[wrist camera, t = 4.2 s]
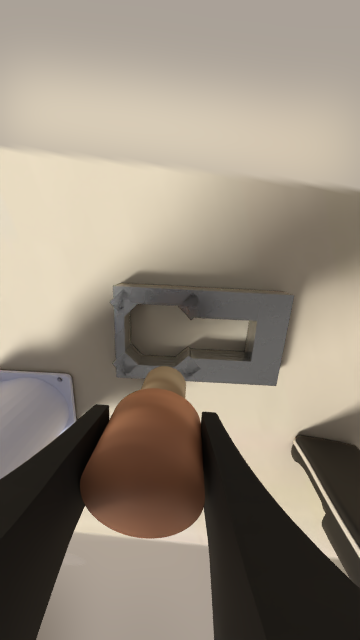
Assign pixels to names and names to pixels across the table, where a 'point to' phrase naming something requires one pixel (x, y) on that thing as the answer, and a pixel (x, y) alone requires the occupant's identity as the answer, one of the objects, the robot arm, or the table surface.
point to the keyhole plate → (217, 303)
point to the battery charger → (335, 494)
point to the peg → (148, 462)
